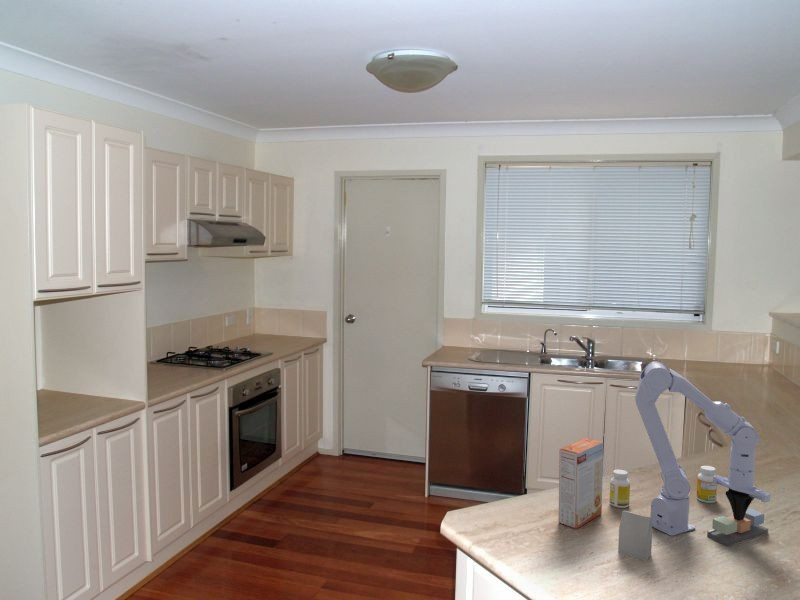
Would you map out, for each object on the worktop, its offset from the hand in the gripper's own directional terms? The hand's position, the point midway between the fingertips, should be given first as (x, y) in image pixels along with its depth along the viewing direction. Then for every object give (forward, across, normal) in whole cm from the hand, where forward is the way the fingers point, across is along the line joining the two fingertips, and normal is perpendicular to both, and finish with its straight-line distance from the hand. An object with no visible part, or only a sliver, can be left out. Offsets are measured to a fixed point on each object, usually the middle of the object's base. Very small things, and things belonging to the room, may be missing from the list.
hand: (738, 519), depth 167 cm
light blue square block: (+2, 0, -6) cm, 6 cm away
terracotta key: (+2, 0, 0) cm, 2 cm away
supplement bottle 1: (+4, +28, +13) cm, 31 cm away
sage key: (+2, 0, +5) cm, 6 cm away
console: (+4, 0, 0) cm, 4 cm away
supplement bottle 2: (+4, +19, -13) cm, 23 cm away
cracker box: (+4, +26, +30) cm, 40 cm away
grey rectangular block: (+4, +5, +32) cm, 33 cm away
